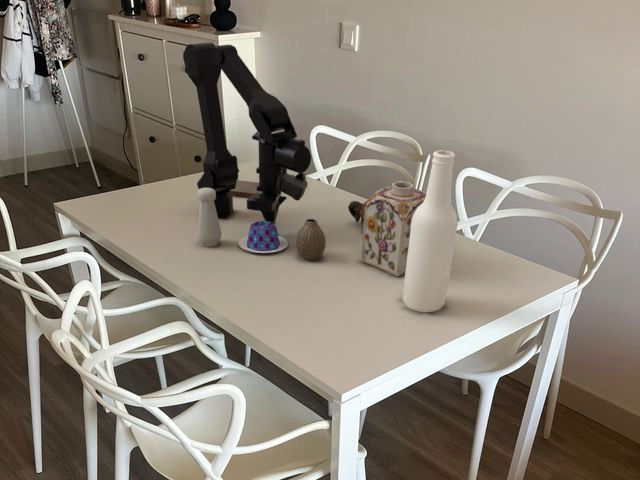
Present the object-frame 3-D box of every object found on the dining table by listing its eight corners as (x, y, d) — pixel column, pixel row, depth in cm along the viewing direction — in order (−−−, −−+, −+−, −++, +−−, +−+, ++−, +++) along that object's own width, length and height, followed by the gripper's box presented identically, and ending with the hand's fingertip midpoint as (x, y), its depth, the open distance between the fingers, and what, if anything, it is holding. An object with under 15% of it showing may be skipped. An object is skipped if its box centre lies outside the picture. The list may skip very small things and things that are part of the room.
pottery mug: (392, 224, 176) (399, 202, 168) (380, 250, 172) (386, 229, 164) (351, 206, 176) (356, 184, 169) (337, 232, 173) (342, 210, 165)
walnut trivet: (224, 195, 188) (224, 189, 188) (236, 184, 196) (236, 179, 195) (264, 200, 186) (264, 194, 185) (274, 189, 194) (274, 184, 193)
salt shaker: (224, 240, 162) (221, 186, 154) (219, 249, 157) (216, 193, 149) (201, 238, 162) (196, 184, 154) (195, 247, 157) (190, 192, 150)
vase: (314, 265, 151) (315, 228, 146) (289, 258, 154) (290, 221, 149) (330, 255, 156) (332, 219, 151) (305, 249, 159) (306, 212, 154)
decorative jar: (392, 249, 161) (400, 173, 150) (429, 264, 154) (441, 185, 143) (358, 261, 154) (364, 183, 143) (396, 278, 147) (406, 196, 137)
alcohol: (415, 316, 133) (436, 161, 115) (394, 297, 139) (411, 148, 121) (452, 309, 136) (478, 157, 118) (430, 291, 142) (451, 145, 124)
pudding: (268, 259, 153) (268, 237, 150) (228, 247, 158) (226, 226, 155) (297, 244, 161) (298, 223, 158) (258, 233, 166) (257, 212, 163)
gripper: (292, 178, 146) (291, 246, 155) (314, 156, 160) (312, 219, 170) (244, 172, 148) (246, 239, 157) (271, 151, 162) (271, 214, 172)
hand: (271, 228), depth 164 cm, fingers closed
